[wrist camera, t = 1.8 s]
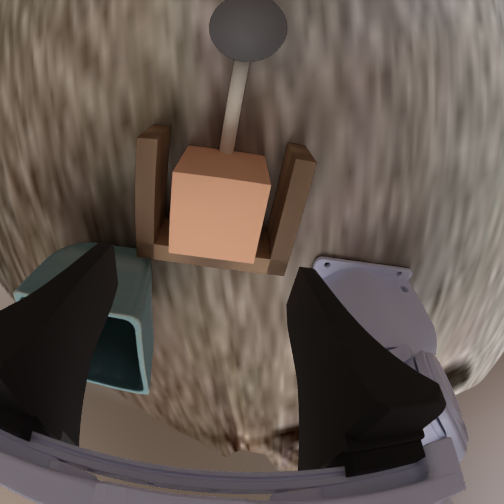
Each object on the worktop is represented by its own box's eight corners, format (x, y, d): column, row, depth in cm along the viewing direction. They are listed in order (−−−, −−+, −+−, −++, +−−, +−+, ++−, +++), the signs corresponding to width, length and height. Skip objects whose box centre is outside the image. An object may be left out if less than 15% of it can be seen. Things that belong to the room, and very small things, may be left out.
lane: (305, 145, 19) (316, 162, 16) (279, 246, 24) (284, 275, 21) (153, 124, 18) (136, 137, 15) (149, 229, 22) (136, 257, 20)
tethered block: (293, 22, 14) (314, 6, 10) (251, 221, 22) (254, 274, 17) (209, 9, 14) (194, -12, 9) (182, 212, 22) (165, 263, 17)
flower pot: (66, 216, 21) (9, 291, 14) (169, 230, 23) (139, 319, 15) (81, 296, 26) (47, 371, 19) (167, 311, 28) (150, 396, 20)
